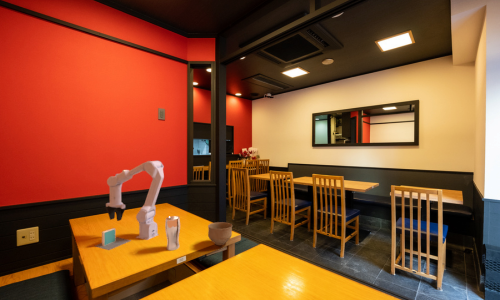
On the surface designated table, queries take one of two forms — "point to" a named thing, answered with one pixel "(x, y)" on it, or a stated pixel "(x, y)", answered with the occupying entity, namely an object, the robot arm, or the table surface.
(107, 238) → the block
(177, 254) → the table surface
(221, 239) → the bowl
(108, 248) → the mat
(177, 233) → the beer glass
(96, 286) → the table surface
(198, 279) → the table surface
